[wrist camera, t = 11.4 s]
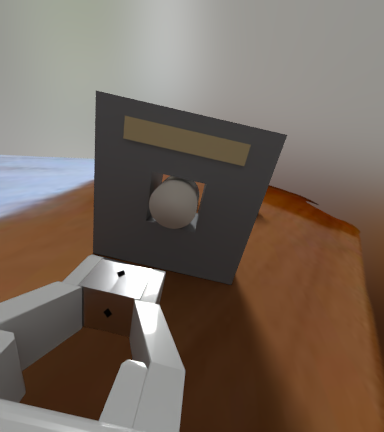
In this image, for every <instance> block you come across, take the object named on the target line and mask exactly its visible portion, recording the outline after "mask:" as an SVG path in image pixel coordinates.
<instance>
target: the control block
mask: <svg viewBox="0 0 384 432" xmlns="http://www.w3.org/2000/svg"><path fill="white" fill-rule="evenodd" d="M286 136H287V135H285V134H280V133H276V132H271V131H267V130H263V129H258V128H254V127H250V126H246V125H242V124H237V123H233V122H229V121H224V120H220V119H216V118H211V117H207V116H203V115H198V114H194V113H190V112H185V111H181V110H177V109H173V108H168V107H164V106H160V105H155V104H151V103H147V102H143V101H138V100H134V99H130V98H125V97H121V96H116V95H112V94H108V93H104V92H99V91H96V119H95V174H94V231H93V253H95V254H99V255H104V256H108V257H112V258H117V259H121V260H125V261H130V262H134V263H139V264H143V265H147V266H152V267H156V268H160V269H165V270H169V271H173V272H178V273H182V274H186V275H191V276H195V277H199V278H204V279H208V280H212V281H217V282H221V283H225V284H230V285H231V284H232V281H233V279H234V276H235V273H236V271H237V268H238V265H239V263H240V260H241V257H242V255H243V252H244V249H245V247H246V244H247V241H248V239H249V236H250V233H251V231H252V228H253V225H254V223H255V220H256V217H257V215H258V212H259V209H260V206H261V204H262V201H263V198H264V196H265V193H266V190H267V188H268V185H269V182H270V179H271V177H272V174H273V172H274V169H275V166H276V164H277V161H278V158H279V155H280V153H281V150H282V148H283V145H284V142H285V140H286ZM163 174H166V175H170V176H174V177H179V178H183V179H187V180H192V181H196V182H200V183H205V186H204V190H203V194H202V198H201V202H200V206H199V210H198V213H196V215H195V217H194V219H193V220H192V221H191V222H190V223H189V224H188V225H187V226H185V227H182V228H178V229H171V228H166V227H164V226H162V225H160V224H159V223H158V222H157V221H156V220H155V219H154V218H153V216H152V215H151V212H150V209H149V200H150V197H151V195H152V193H153V192H154V190H155V189H156V188H157V187H159V186H160V185H161V184H162V177H163Z"/></svg>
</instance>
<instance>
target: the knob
mask: <svg viewBox="0 0 384 432" xmlns="http://www.w3.org/2000/svg"><path fill="white" fill-rule="evenodd" d="M198 200H199V189H198V186H197V185H196V183H195V182H194V181H192V180H187V179H183V178H179V177H174V176H170V177H168V178H167V179H166V180H165V181H164V182H163V183H162V184H161V185H160V186H159V187H157V188H156V189H155V190H154V192H153V193H152V195H151V197H150V200H149V209H150V212H151V215H152V216H153V218H154V219H155V220H156V221H157V222H158V223H159V224H160V225H162V226H164V227H166V228H171V229H178V228H182V227H185V226H187V225H188V224H189V223H190V222H191V221H192V220H193V219H194V217H195V215H196V211H197V205H198Z"/></svg>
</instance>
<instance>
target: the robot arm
mask: <svg viewBox="0 0 384 432" xmlns="http://www.w3.org/2000/svg"><path fill="white" fill-rule="evenodd" d="M165 275H166V272H165V271H161V270H156V269H150V268H146V267H141V266H137V265H132V264H128V263H124V262H120V261H116V260H113V259H109V258H104V257H100V256H96V255H90V256H88V257H87V258H86V259H85V260H84V261H83V262H82V263H81V264H80V265H79V266H78V267H77V268H76V269H75V270H74V271H73V272H72V273H71V274H70V275H69V276H68V277H67V278H66V279H65V280H64V281H63V282H58V281H57V282H54V283H52V284H49V285H46V286H44V287H41V288H39V289H36V290H33V291H31V292H28V293H25V294H23V295H20V296H17V297H15V298H12V299H9V300H7V301H4V302H1V303H0V432H179V428H180V419H181V409H182V399H183V389H184V380H185V369H184V366H183V364H182V361H181V359H180V356H179V353H178V351H177V348H176V346H175V343H174V341H173V338H172V335H171V333H170V330H169V328H168V325H167V323H166V320H165V317H164V315H163V312H162V310H161V307H160V305H159V303H160V299H161V295H162V290H163V285H164V280H165ZM82 327H87V328H92V329H97V330H102V331H107V332H111V333H115V334H118V335H122V336H126V337H130V338H129V340H130V346H131V353H132V359H133V360H129V359H128V360H127V361H125V362H123V363H122V364H121V367H120V369H119V372H118V374H117V377H116V379H115V382H114V384H113V387H112V389H111V392H110V394H109V396H108V399H107V401H106V404H105V406H104V409H103V411H102V414H101V416H100V419H99V421H97V420H92V419H88V418H83V417H79V416H74V415H70V414H66V413H61V412H57V411H52V410H48V409H44V408H39V407H35V406H30V405H26V404H22V403H19V402H20V400H21V399H22V398H23V396H24V395H25V393H26V392H25V383H24V379H23V374H22V371H23V370H24V369H26V368H27V367H29V366H30V365H31V364H33V363H34V362H36V361H37V360H38V359H40V358H41V357H43V356H44V355H45V354H47V353H48V352H50V351H51V350H52V349H54V348H55V347H57V346H58V345H59V344H61V343H62V342H64V341H65V340H66V339H68V338H69V337H71V336H72V335H73V334H75V333H76V332H78V331H79V330H80V329H82Z"/></svg>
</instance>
